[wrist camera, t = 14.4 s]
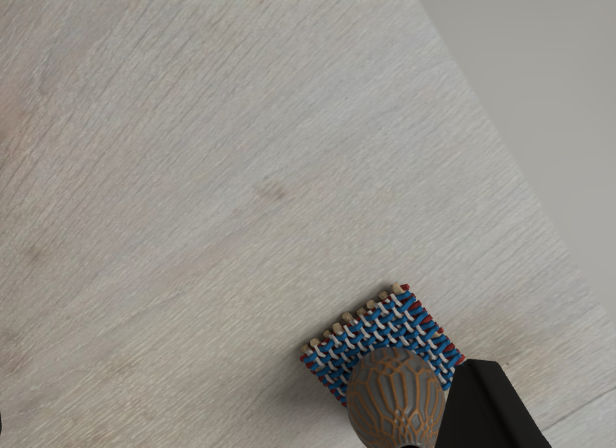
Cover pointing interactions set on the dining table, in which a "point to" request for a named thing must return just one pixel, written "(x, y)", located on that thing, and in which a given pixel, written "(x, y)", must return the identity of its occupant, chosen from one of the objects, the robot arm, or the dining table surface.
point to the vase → (395, 400)
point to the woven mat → (381, 340)
